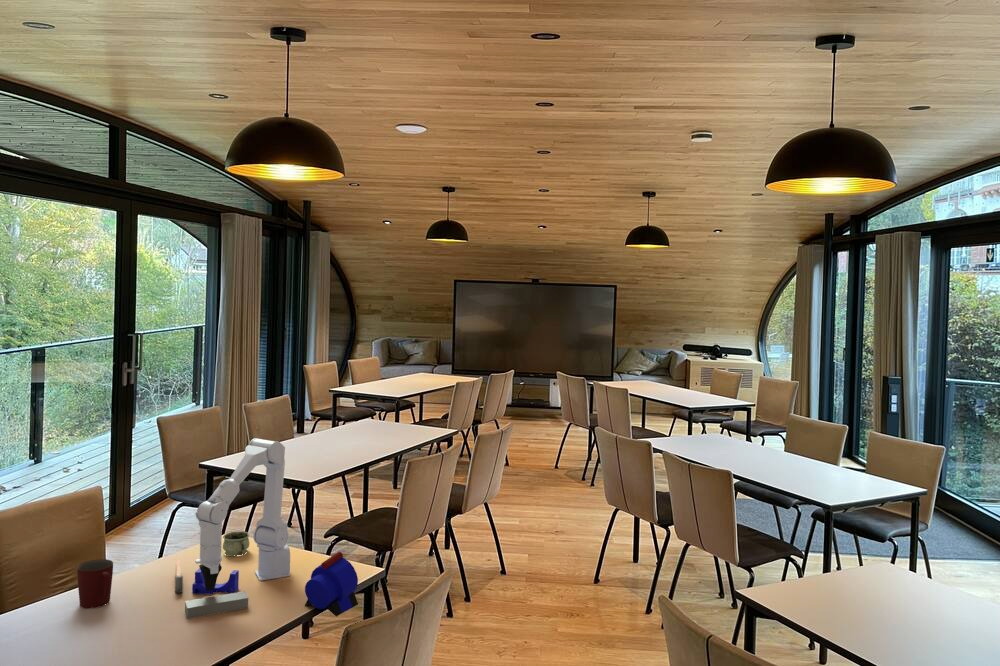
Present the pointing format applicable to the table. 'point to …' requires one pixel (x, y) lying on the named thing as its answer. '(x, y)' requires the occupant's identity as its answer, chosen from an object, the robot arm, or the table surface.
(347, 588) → the blue electric motor
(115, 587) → the table surface
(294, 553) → the table surface
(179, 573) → the bar
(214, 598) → the grey rectangular block
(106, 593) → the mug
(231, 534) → the vessel
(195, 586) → the blue pipe saddle
